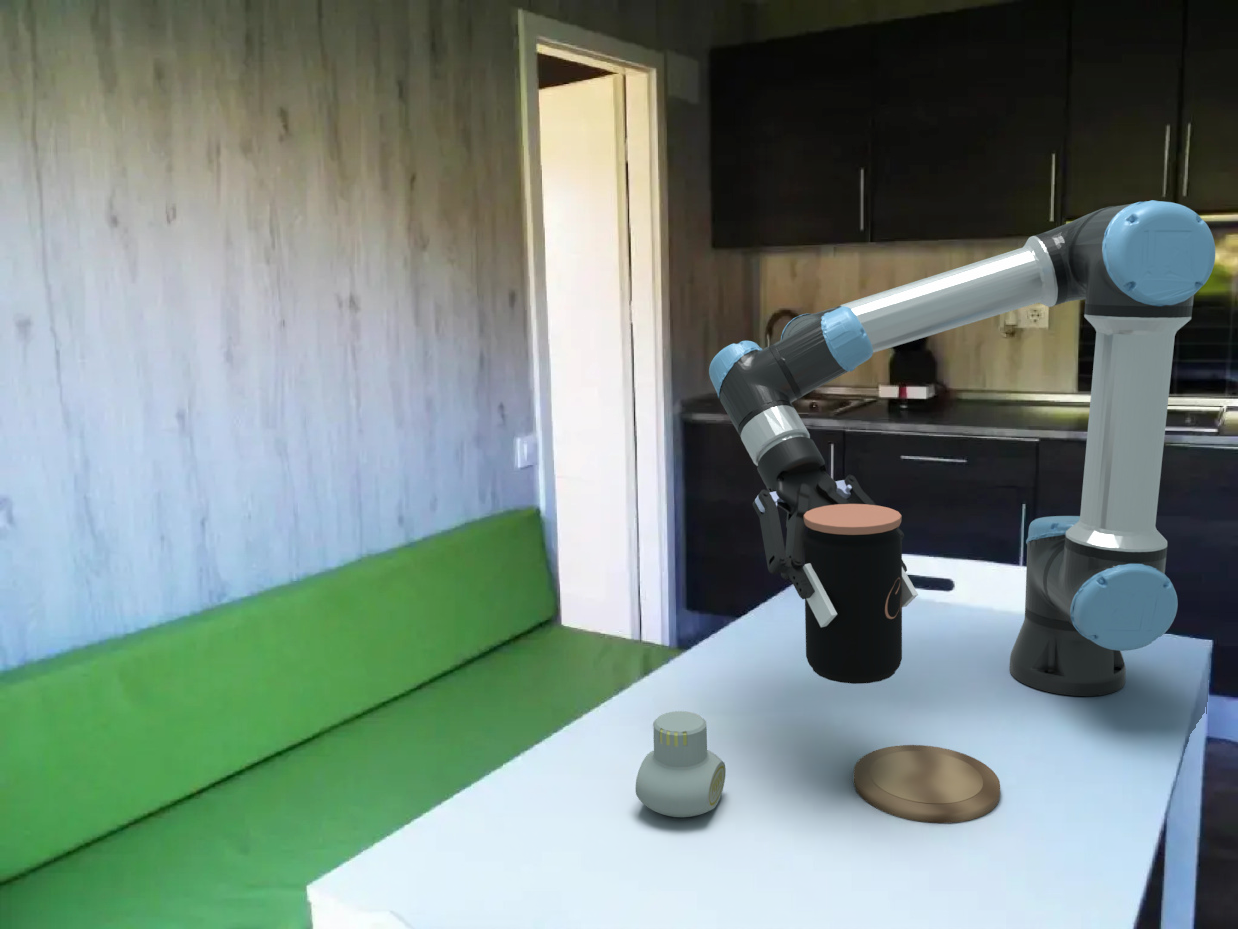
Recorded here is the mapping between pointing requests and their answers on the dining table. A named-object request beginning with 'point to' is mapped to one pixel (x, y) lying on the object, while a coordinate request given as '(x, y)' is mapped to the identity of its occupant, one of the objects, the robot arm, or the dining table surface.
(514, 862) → the dining table surface
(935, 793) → the trivet
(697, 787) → the air freshener
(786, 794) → the dining table surface
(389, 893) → the dining table surface
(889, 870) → the dining table surface
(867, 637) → the coffee jar
